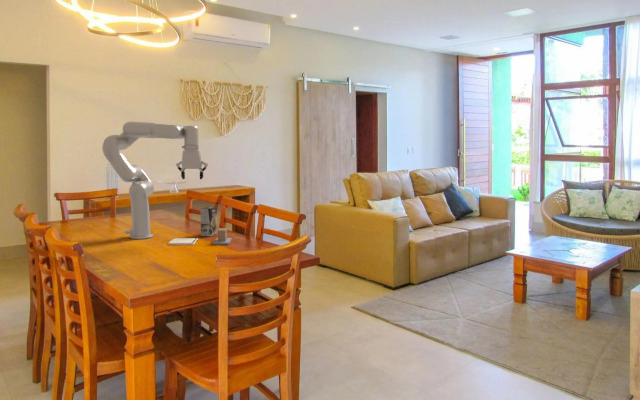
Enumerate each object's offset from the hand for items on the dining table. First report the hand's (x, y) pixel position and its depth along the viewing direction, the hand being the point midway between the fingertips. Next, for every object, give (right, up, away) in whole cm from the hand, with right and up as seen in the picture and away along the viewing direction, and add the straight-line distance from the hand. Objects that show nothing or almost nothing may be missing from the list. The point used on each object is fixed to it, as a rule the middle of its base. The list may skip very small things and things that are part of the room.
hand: (192, 179), depth 273 cm
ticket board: (-3, -35, -8) cm, 36 cm away
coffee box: (+7, -32, +13) cm, 35 cm away
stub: (+18, -35, -7) cm, 40 cm away
